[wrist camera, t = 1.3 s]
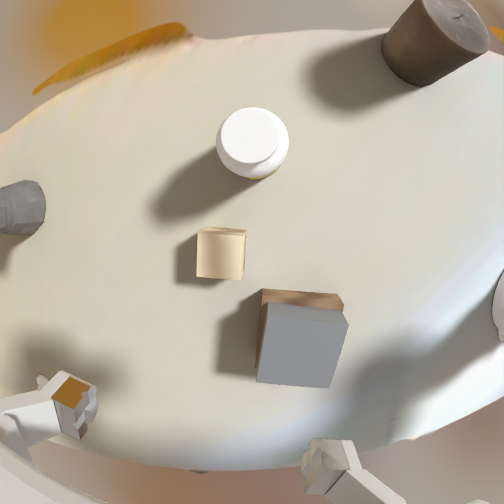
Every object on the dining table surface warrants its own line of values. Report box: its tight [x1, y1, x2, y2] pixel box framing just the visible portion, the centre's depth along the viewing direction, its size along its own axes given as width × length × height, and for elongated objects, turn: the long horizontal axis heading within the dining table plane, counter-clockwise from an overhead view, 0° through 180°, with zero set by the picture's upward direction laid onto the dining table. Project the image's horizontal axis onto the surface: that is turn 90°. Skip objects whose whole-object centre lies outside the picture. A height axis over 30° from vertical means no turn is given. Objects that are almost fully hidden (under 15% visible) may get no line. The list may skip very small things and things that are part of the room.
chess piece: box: [36, 375, 49, 391], centre depth 41 cm, size 5×5×10 cm
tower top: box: [256, 302, 349, 388], centre depth 33 cm, size 9×9×4 cm
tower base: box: [255, 288, 344, 368], centre depth 37 cm, size 10×10×4 cm
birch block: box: [197, 227, 247, 281], centre depth 34 cm, size 5×5×5 cm
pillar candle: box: [382, 0, 490, 87], centre depth 22 cm, size 10×10×15 cm
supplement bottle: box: [216, 108, 289, 179], centre depth 28 cm, size 7×7×13 cm
